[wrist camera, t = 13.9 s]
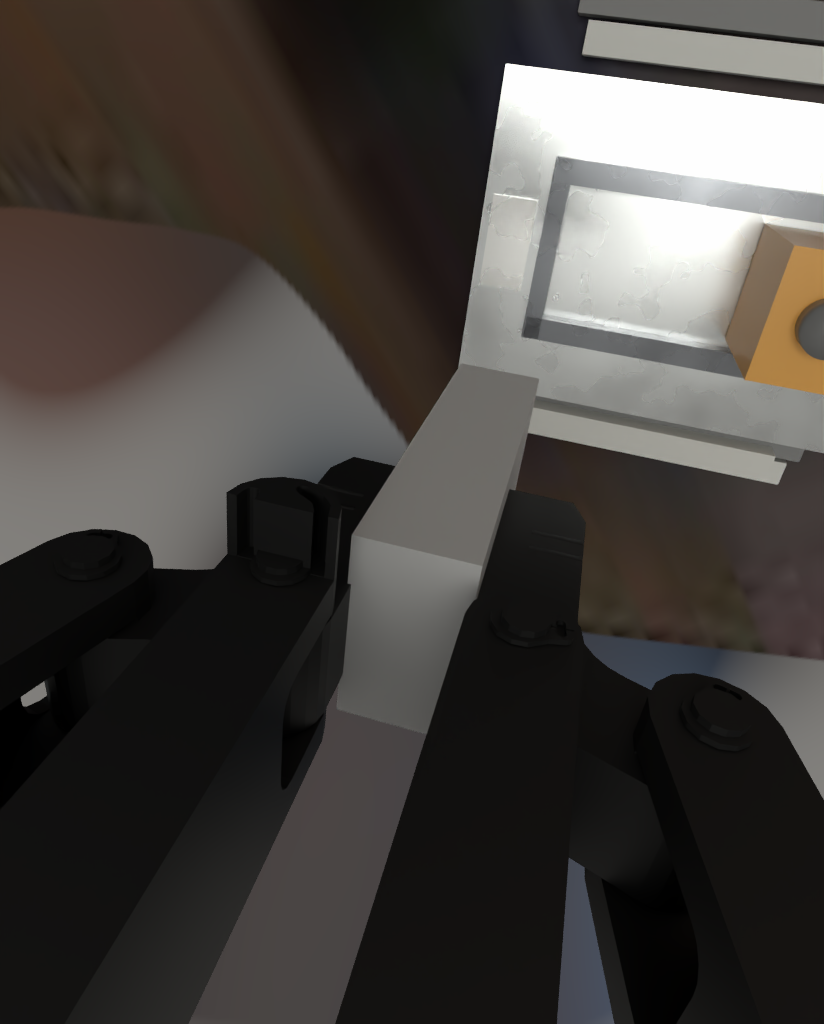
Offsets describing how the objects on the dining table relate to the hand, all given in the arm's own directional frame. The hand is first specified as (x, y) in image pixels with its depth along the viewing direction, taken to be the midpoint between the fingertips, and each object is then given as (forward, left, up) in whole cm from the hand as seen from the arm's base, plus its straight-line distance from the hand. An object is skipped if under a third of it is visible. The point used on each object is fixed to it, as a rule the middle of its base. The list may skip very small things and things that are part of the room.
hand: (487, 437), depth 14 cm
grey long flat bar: (+6, +9, -24) cm, 27 cm away
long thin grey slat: (+6, -8, -24) cm, 26 cm away
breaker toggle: (+10, 0, -22) cm, 25 cm away
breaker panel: (+6, 0, -24) cm, 25 cm away
